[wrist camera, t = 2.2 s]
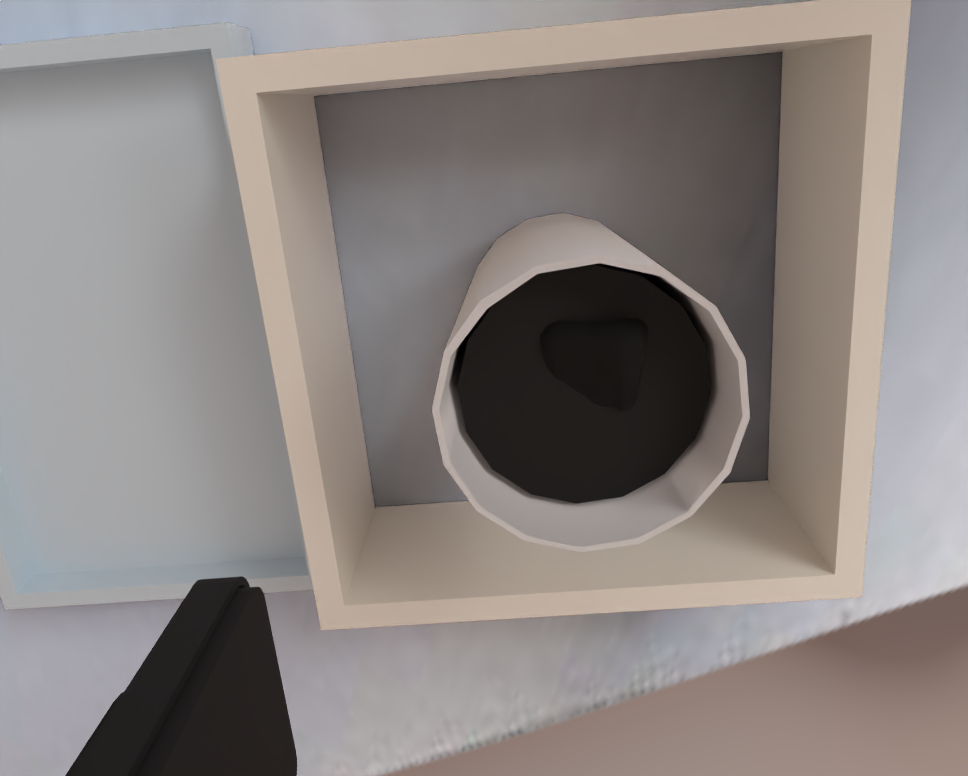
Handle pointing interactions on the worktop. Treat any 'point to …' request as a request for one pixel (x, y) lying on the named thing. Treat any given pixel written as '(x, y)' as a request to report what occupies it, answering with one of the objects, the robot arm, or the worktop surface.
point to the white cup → (587, 390)
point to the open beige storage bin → (795, 350)
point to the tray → (132, 331)
